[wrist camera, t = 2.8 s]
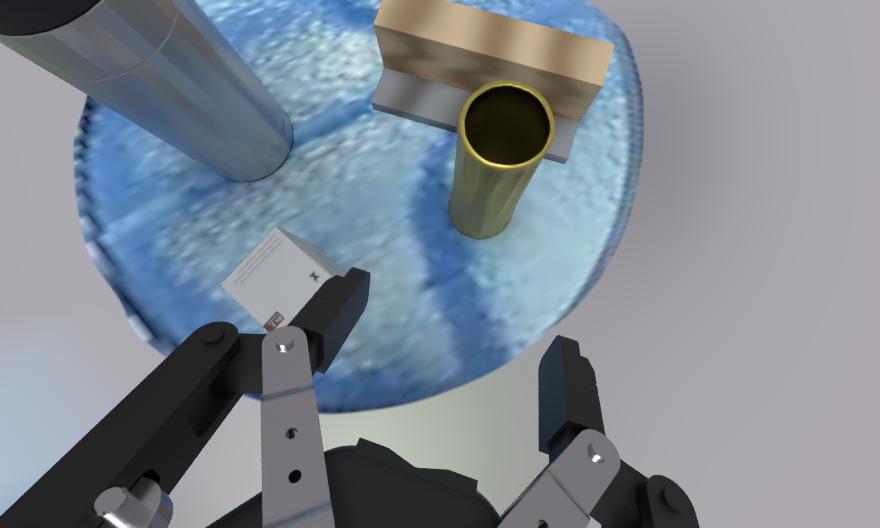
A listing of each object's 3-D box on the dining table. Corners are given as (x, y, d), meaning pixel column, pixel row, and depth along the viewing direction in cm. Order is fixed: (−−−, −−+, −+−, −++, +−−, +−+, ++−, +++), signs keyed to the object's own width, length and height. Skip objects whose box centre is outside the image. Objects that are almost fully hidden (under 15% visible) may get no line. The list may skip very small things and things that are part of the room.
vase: (487, 166, 32) (518, 52, 18) (524, 215, 31) (588, 136, 17) (436, 201, 32) (427, 111, 18) (473, 251, 31) (494, 200, 17)
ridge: (373, 108, 33) (357, 64, 27) (411, 10, 35) (403, -52, 29) (564, 163, 32) (590, 129, 26) (594, 58, 34) (625, 4, 28)
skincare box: (314, 243, 31) (274, 222, 24) (361, 284, 31) (334, 275, 23) (270, 291, 31) (216, 285, 23) (316, 334, 30) (275, 341, 23)
